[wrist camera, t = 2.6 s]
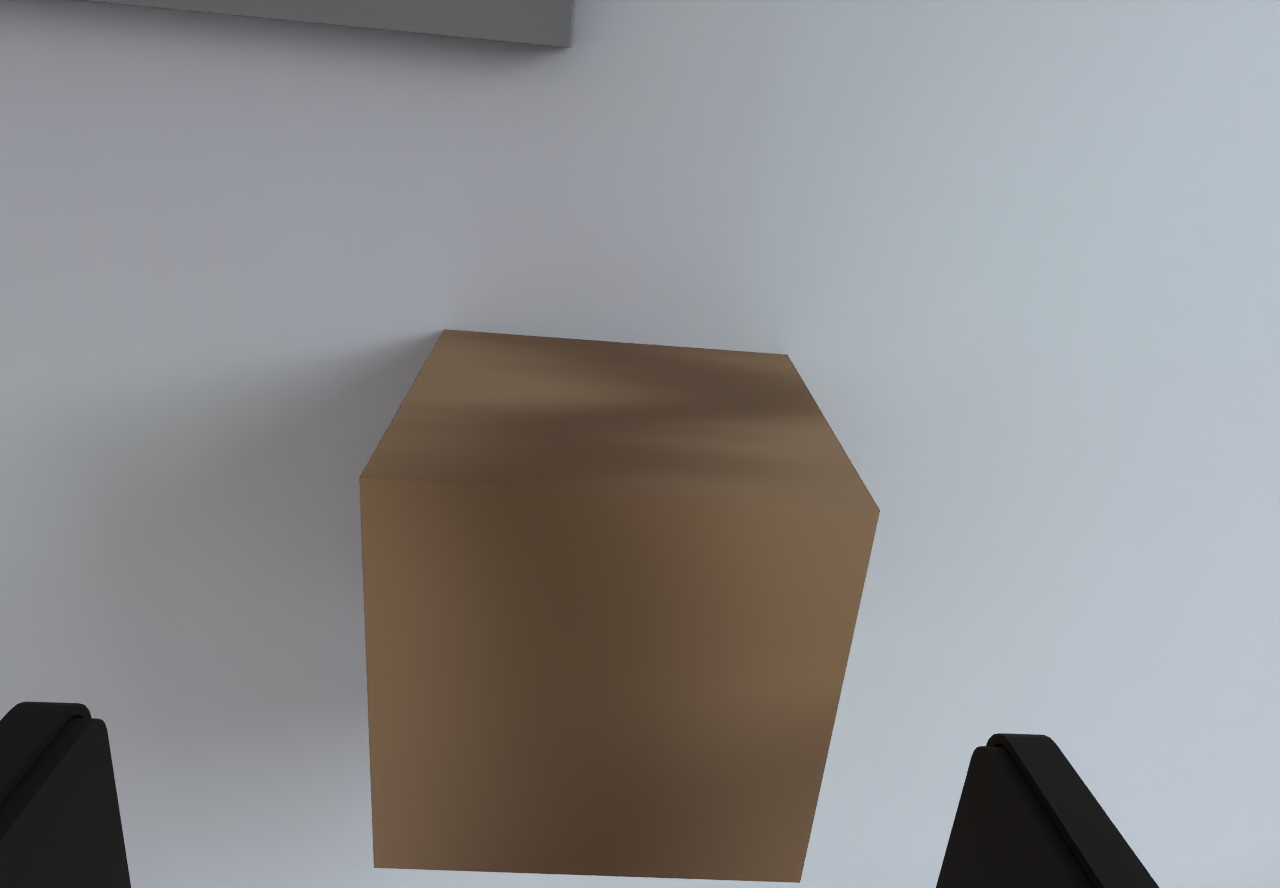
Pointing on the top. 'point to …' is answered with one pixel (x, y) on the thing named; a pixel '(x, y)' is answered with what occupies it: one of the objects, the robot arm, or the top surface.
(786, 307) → the top surface
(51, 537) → the top surface
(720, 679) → the walnut block
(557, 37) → the slate coaster
